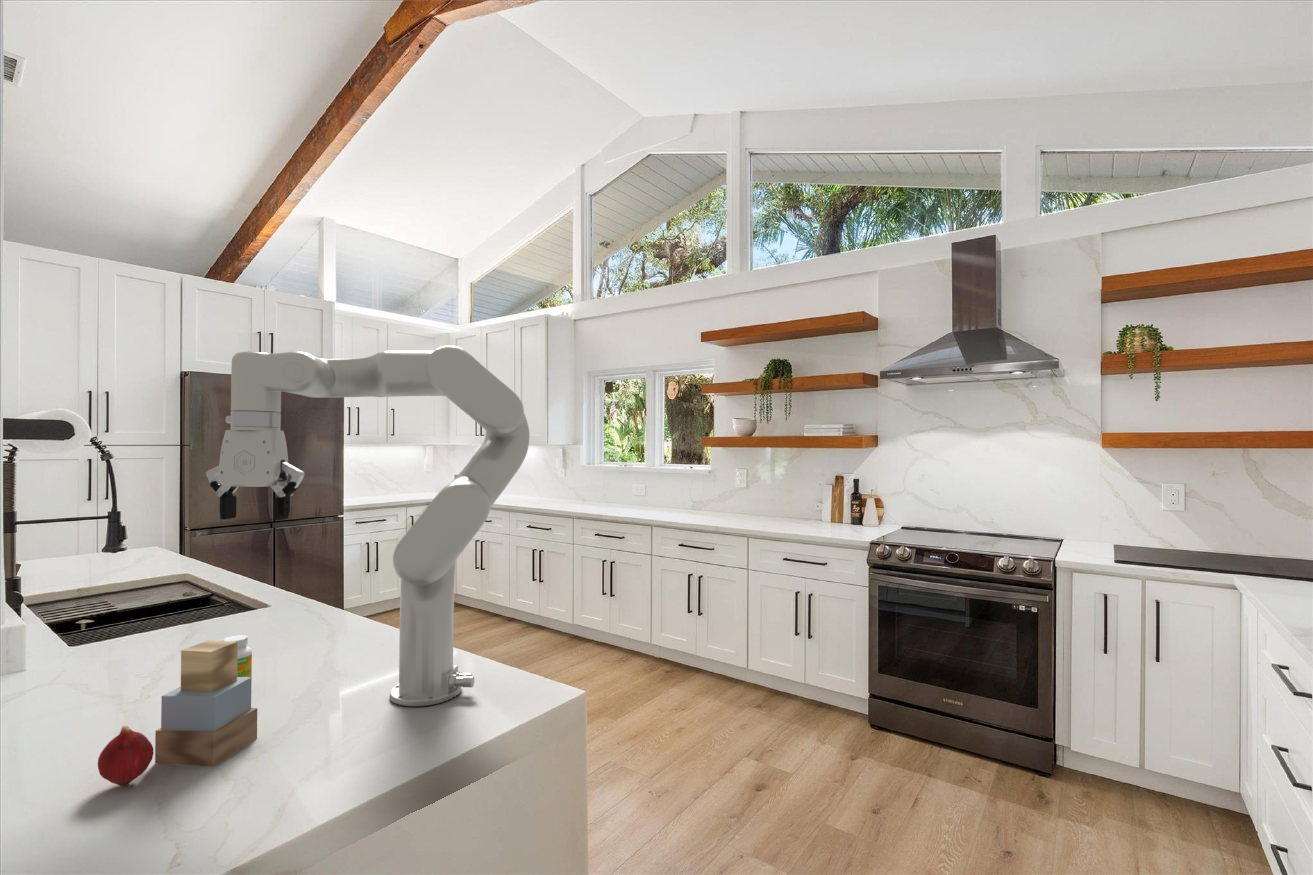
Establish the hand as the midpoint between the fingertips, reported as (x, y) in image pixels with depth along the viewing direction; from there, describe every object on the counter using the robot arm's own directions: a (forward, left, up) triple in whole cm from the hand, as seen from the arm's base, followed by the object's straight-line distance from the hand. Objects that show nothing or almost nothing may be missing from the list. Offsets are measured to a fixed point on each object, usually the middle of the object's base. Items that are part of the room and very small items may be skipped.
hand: (254, 518), depth 113 cm
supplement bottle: (+9, -8, -34) cm, 36 cm away
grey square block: (-4, +16, -29) cm, 33 cm away
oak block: (-4, +15, -24) cm, 28 cm away
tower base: (-4, +16, -34) cm, 37 cm away
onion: (0, +26, -34) cm, 42 cm away
